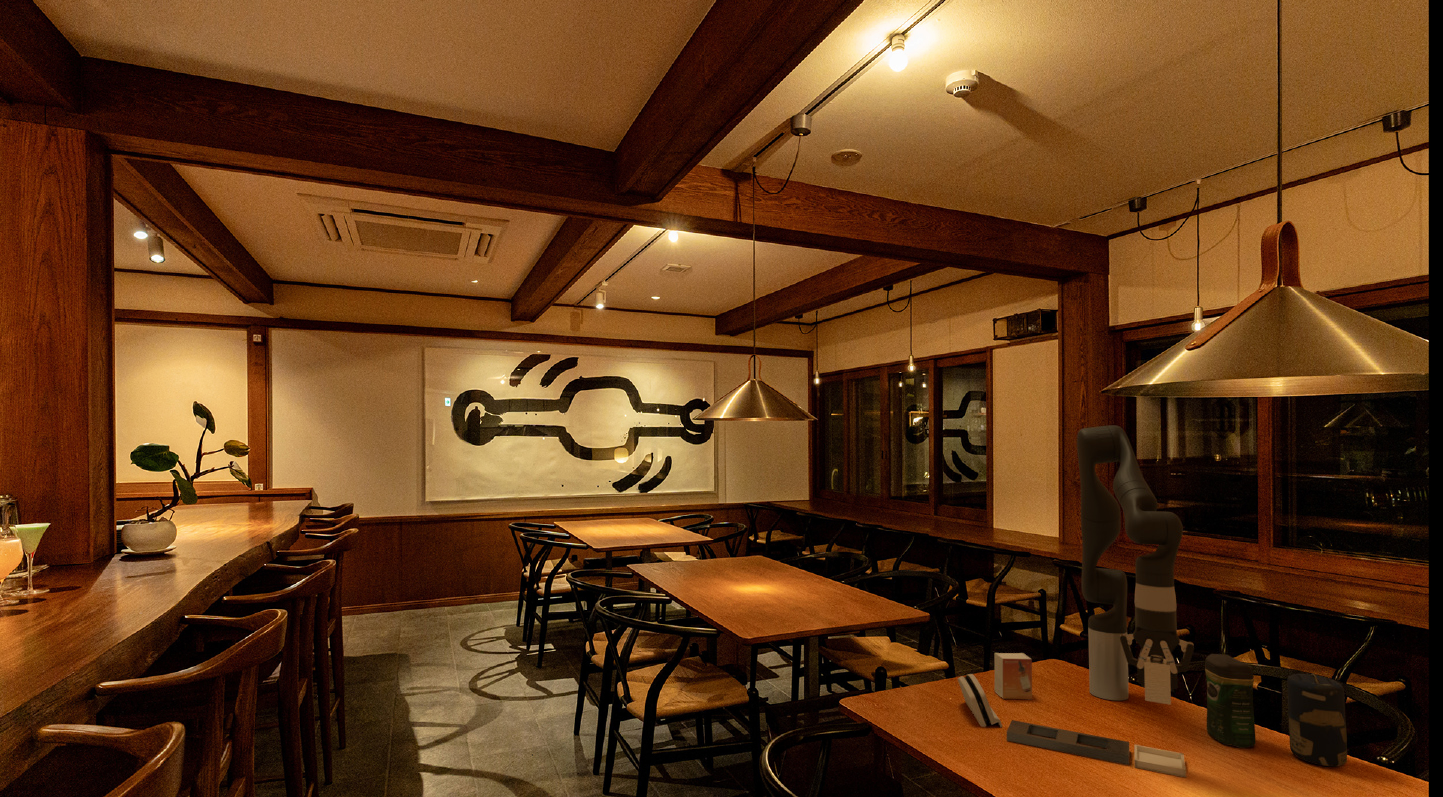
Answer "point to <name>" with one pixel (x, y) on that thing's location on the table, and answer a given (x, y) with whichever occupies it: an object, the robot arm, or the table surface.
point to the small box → (1013, 676)
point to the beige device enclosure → (977, 700)
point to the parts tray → (1160, 761)
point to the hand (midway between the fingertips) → (1157, 687)
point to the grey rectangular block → (1157, 680)
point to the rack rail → (1069, 742)
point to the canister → (1317, 719)
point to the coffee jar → (1230, 701)
